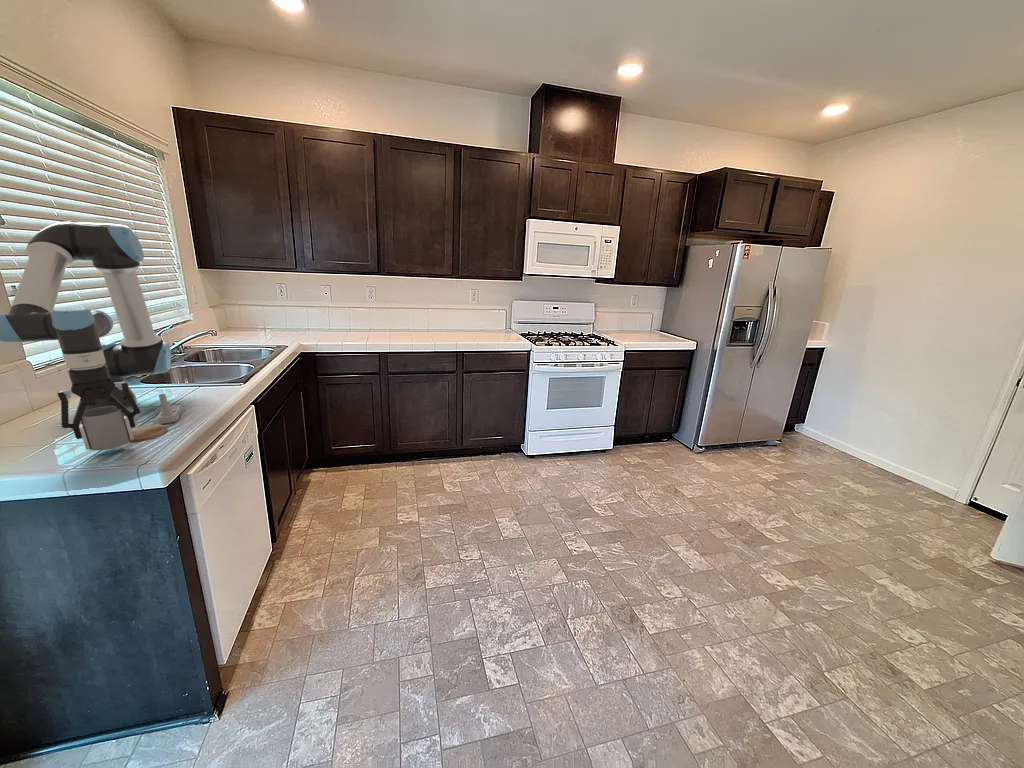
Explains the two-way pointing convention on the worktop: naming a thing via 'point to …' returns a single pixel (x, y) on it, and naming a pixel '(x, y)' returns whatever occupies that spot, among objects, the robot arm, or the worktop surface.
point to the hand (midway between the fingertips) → (110, 442)
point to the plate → (147, 432)
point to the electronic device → (168, 411)
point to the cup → (105, 428)
